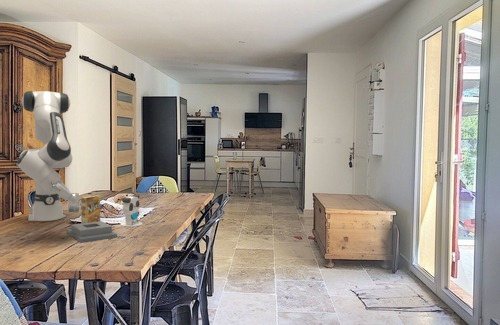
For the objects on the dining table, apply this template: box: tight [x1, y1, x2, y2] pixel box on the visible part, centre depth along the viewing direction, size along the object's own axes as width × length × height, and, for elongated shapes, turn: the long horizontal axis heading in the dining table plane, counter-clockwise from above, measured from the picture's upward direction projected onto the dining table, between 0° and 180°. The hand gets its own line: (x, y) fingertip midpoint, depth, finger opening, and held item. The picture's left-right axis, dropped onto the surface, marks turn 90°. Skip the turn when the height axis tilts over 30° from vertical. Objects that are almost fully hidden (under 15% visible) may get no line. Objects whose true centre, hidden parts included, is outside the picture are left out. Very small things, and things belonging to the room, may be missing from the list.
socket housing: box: [66, 220, 118, 244], centre depth 184 cm, size 22×16×4 cm
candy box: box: [80, 195, 101, 224], centre depth 203 cm, size 9×4×15 cm, turn 150°
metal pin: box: [67, 192, 80, 213], centre depth 179 cm, size 4×4×8 cm
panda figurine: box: [120, 194, 143, 228], centre depth 207 cm, size 12×11×15 cm
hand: (75, 201), depth 180 cm, fingers closed on metal pin, 4 cm apart
